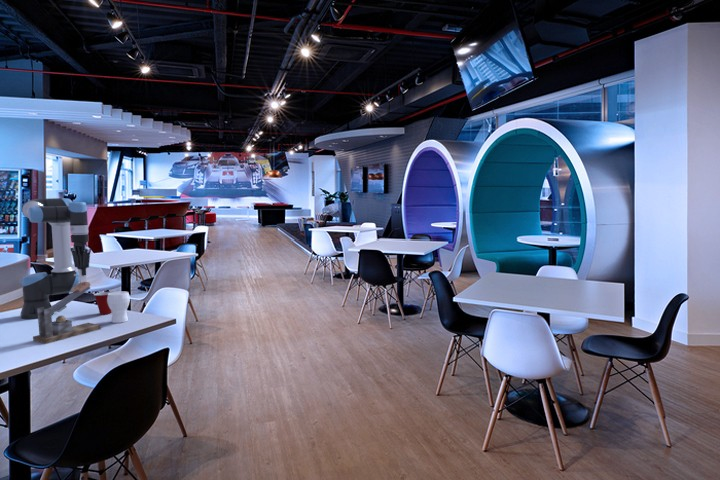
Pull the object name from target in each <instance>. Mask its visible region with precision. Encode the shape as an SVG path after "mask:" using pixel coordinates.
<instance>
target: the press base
mask: <svg viewBox="0 0 720 480" xmlns="http://www.w3.org/2000/svg"><path fill="white" fill-rule="evenodd" d="M37 310H38V318H37V320H38V321H37V323H38V334H37V335H34V336H33V335H32V341H34V342H36V343H41V344H43V345H44V344H46V345H47V344H50V343H54V342H58V341H63V340H66V339H69V338H73V337H76V336H80V335H83V334H88V333H91V332H95V331H98V330H102V329H101V325H100V324H97V323H93V322H85V323H81V324H77V325H74V326H73V321H72V320H71V319H66V321H65V322H63V323H57V322H56V320H54V321H53V317H52V315H51V309H50V308H49V309H44V307H41V308H37ZM42 312H44V316H43V314H42Z"/></svg>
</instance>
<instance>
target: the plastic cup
mask: <svg viewBox="0 0 720 480" xmlns="http://www.w3.org/2000/svg"><path fill="white" fill-rule="evenodd" d="M112 292H113V291H105V292H97V293H94V294H93V296H94V298H95V301H96V304H97V309H98V312H99V314H100V315H101V316H102V315H103V316H105V314H106V315H110V313H111V314H112V311H111V309H110V308H109V306H108V303H107V297H108V294H109V293H112Z"/></svg>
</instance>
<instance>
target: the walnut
mask: <svg viewBox="0 0 720 480" xmlns="http://www.w3.org/2000/svg"><path fill="white" fill-rule="evenodd" d="M66 320H67V318H66V317H65V316H64V315H58V316H57V317H56V318H55V321H56V322H57V323H63V322H65V321H66Z"/></svg>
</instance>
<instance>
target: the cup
mask: <svg viewBox="0 0 720 480" xmlns="http://www.w3.org/2000/svg"><path fill="white" fill-rule="evenodd" d="M111 292H112V293H109V294H108V297H107V303H108V306H109V308H110V309H111V311H112V313H111V323H113V324H118V323H125V322H127V321H128V320H129V318H128V314H127V312H128V308H129V305H130V301H131V296H130V294H129V291H122V290H121V291H119V290H118V291H111Z"/></svg>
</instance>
